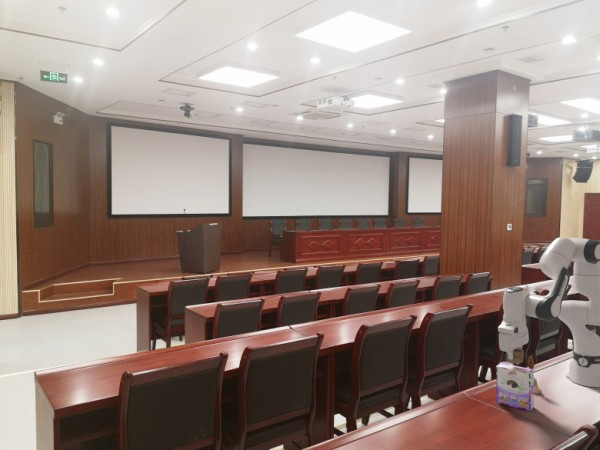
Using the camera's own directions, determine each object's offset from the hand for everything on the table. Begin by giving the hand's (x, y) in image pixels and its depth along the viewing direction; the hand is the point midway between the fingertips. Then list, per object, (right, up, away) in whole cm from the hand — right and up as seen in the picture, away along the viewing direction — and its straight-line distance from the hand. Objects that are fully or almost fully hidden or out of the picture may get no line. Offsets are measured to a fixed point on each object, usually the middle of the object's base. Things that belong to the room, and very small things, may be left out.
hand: (514, 357), depth 185 cm
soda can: (+5, -20, +17) cm, 27 cm away
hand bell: (+15, -20, +16) cm, 30 cm away
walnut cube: (0, -2, 0) cm, 2 cm away
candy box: (0, -21, +1) cm, 21 cm away
